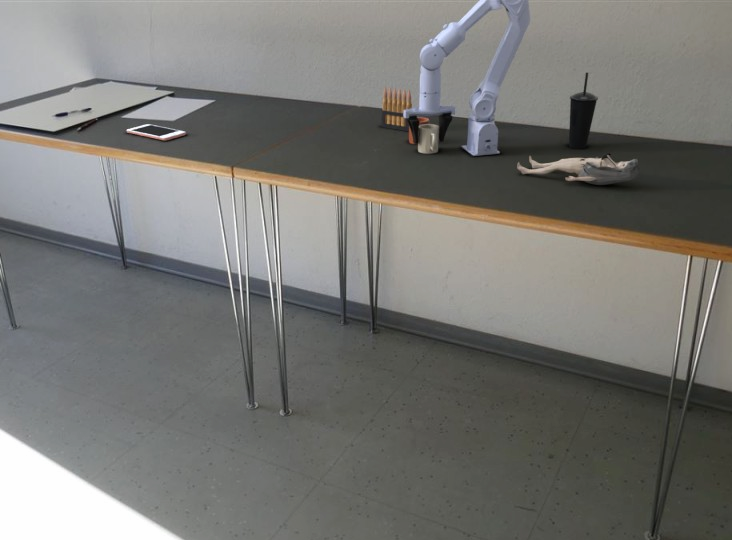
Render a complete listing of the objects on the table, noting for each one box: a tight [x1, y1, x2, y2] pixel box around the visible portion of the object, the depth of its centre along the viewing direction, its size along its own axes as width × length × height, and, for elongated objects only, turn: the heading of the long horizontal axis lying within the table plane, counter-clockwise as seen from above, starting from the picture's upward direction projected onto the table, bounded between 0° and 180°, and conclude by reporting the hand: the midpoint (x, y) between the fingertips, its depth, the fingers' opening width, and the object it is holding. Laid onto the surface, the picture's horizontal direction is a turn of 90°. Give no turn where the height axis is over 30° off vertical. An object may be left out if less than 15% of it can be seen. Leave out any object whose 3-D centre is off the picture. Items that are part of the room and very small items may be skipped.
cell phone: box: [126, 123, 187, 142], centre depth 250 cm, size 9×18×1 cm, turn 53°
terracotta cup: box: [408, 116, 430, 145], centre depth 236 cm, size 8×6×6 cm
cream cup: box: [417, 123, 440, 155], centre depth 226 cm, size 8×6×7 cm
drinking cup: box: [568, 72, 599, 149], centre depth 225 cm, size 8×8×20 cm
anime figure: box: [516, 152, 640, 186], centre depth 202 cm, size 10×7×30 cm
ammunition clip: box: [380, 86, 413, 132], centre depth 248 cm, size 11×2×12 cm, turn 53°
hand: (428, 142), depth 227 cm, fingers open, 7 cm apart
